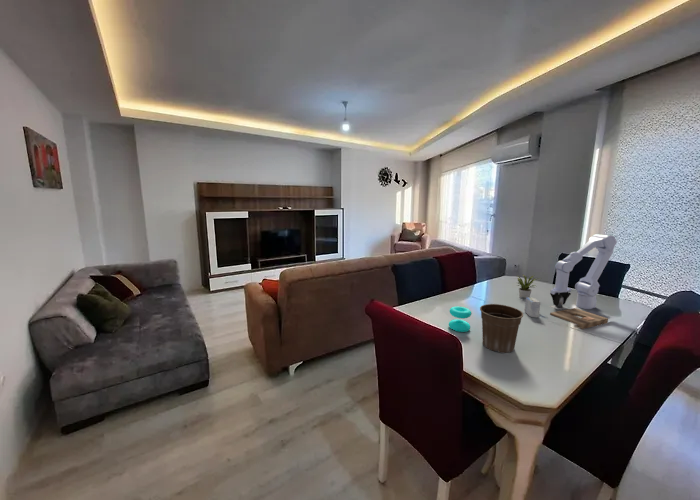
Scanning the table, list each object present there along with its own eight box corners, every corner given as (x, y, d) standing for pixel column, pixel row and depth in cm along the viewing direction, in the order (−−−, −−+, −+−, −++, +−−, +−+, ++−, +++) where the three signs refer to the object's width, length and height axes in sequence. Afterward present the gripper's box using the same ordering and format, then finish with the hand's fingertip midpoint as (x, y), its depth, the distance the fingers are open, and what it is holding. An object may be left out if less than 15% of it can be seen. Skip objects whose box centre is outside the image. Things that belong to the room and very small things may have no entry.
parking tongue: (557, 306, 170) (558, 304, 170) (568, 310, 165) (568, 307, 165) (548, 308, 168) (548, 306, 167) (559, 312, 162) (559, 309, 162)
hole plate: (574, 312, 162) (574, 307, 162) (607, 323, 147) (608, 318, 147) (549, 317, 155) (550, 312, 155) (582, 329, 140) (583, 323, 140)
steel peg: (557, 305, 168) (558, 295, 167) (563, 307, 165) (565, 297, 164) (553, 306, 167) (554, 296, 166) (559, 308, 164) (561, 298, 163)
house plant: (539, 297, 187) (542, 273, 184) (539, 304, 175) (542, 278, 173) (514, 294, 194) (516, 270, 192) (513, 299, 183) (515, 274, 180)
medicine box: (539, 317, 154) (540, 302, 153) (529, 317, 155) (531, 301, 154) (532, 312, 162) (534, 297, 161) (524, 311, 163) (525, 297, 161)
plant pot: (500, 359, 113) (504, 320, 110) (468, 341, 128) (471, 306, 125) (528, 351, 119) (532, 314, 117) (495, 335, 134) (498, 301, 131)
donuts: (476, 311, 137) (460, 314, 133) (474, 330, 138) (458, 334, 134) (460, 304, 146) (445, 307, 142) (459, 323, 147) (444, 326, 143)
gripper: (563, 279, 170) (560, 300, 172) (546, 281, 165) (543, 303, 167) (576, 282, 163) (572, 304, 166) (558, 284, 158) (555, 308, 160)
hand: (558, 304), depth 166 cm, fingers open, 5 cm apart
